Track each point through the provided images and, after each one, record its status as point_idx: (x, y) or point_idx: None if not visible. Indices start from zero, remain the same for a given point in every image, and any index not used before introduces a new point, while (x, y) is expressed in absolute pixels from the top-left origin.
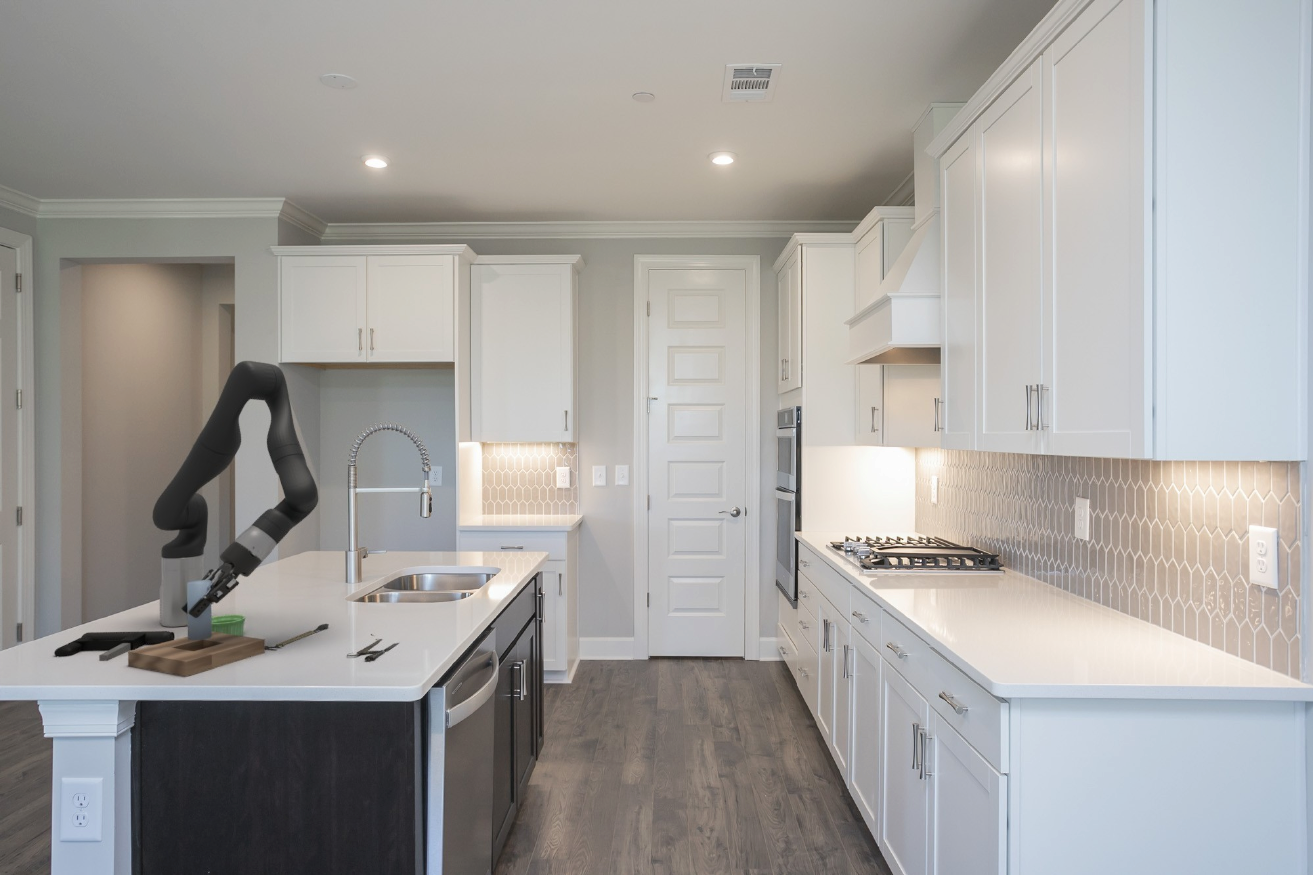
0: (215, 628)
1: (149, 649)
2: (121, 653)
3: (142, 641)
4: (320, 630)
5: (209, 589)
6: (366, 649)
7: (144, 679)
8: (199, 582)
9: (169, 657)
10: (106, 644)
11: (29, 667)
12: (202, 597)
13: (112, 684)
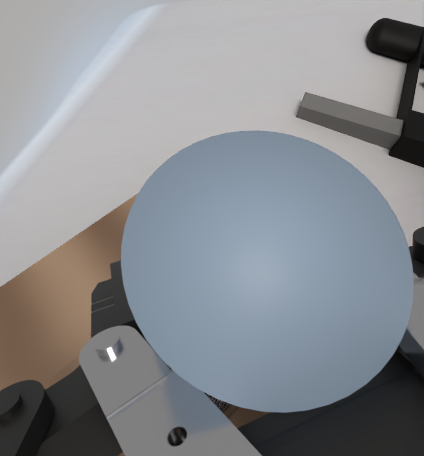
0: None
1: None
2: (352, 134)
3: None
4: None
5: (130, 398)
6: None
7: (41, 215)
8: (231, 253)
9: (65, 254)
10: (407, 92)
11: (293, 9)
12: (110, 330)
13: (41, 152)
